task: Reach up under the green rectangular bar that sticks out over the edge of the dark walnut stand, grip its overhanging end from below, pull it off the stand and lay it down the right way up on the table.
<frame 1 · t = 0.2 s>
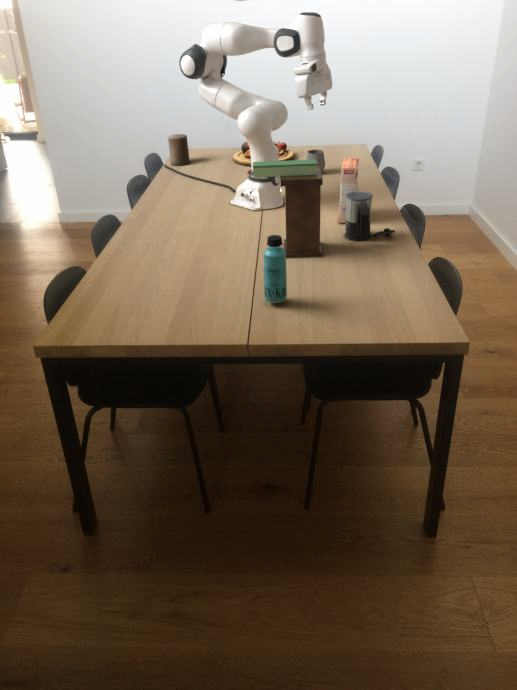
hand: (316, 107, 207), 39 cm above the table, tool pointing down, fingers open, 8 cm apart
green rectangular bar: (284, 174, 183), point 26 cm above the table, touching walnut stand
wooden plate: (263, 159, 300), on the table
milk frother: (369, 237, 204), on the table
beverage bottle: (276, 303, 165), on the table
pillar candle: (180, 163, 299), on the table
walnut stand: (300, 249, 196), on the table
cup: (315, 173, 274), on the table
cracker box: (347, 218, 221), on the table
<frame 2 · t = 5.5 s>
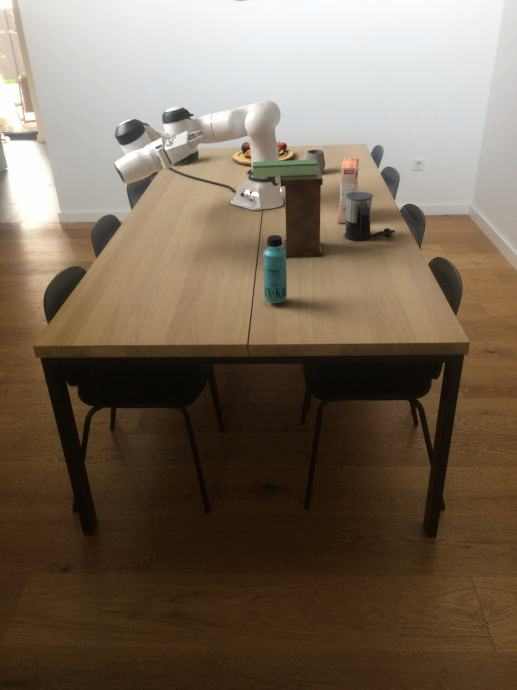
hand: (203, 134, 180), 38 cm above the table, tool pointing upward, fingers open, 8 cm apart
nothing on the table moved.
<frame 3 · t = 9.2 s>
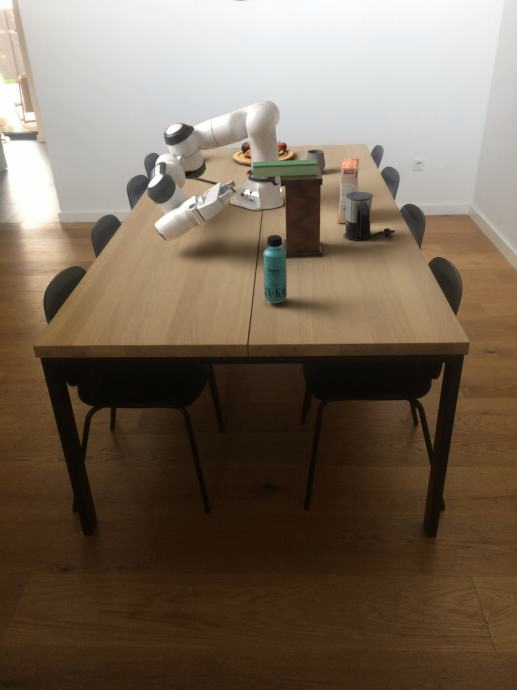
hand: (233, 187, 185), 23 cm above the table, tool pointing upward, fingers open, 8 cm apart
nothing on the table moved.
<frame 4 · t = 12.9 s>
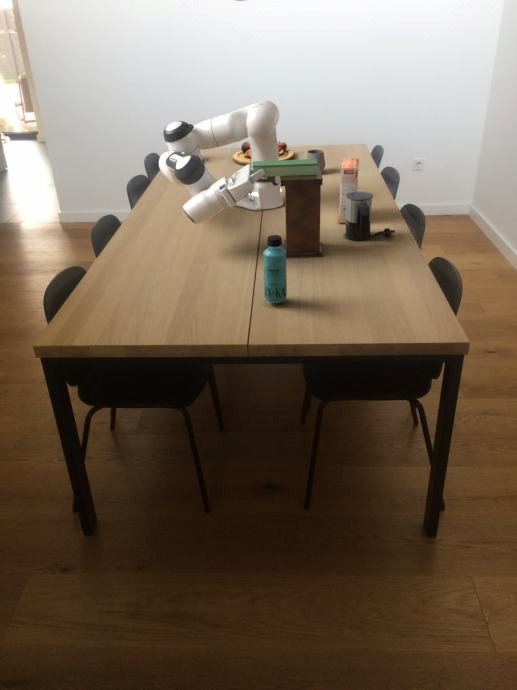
hand: (264, 167, 182), 28 cm above the table, tool pointing upward, fingers closed on green rectangular bar, 4 cm apart
green rectangular bar: (284, 173, 183), point 26 cm above the table, touching gripper
everything else where it was.
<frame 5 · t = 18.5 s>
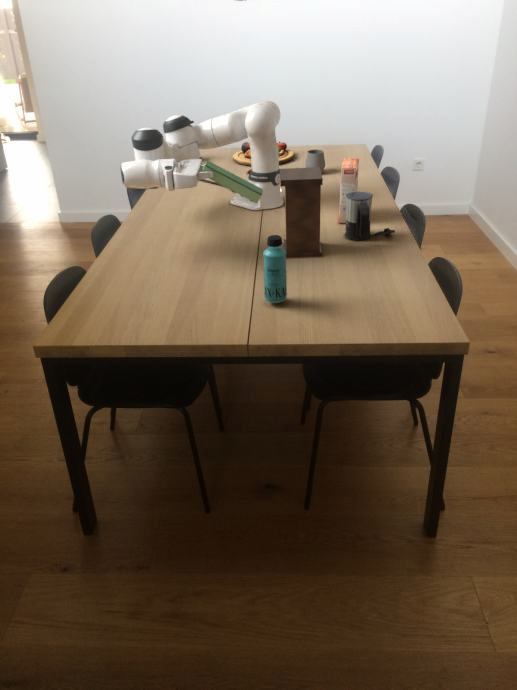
hand: (214, 171, 183), 28 cm above the table, tool horizontal, fingers closed on green rectangular bar, 4 cm apart
green rectangular bar: (229, 186, 185), point 23 cm above the table, tilted 30°, touching gripper
everything else where it was.
when the fingers open (10 cm above the table, at t = 22.5 s): green rectangular bar drops 5 cm, on the table.
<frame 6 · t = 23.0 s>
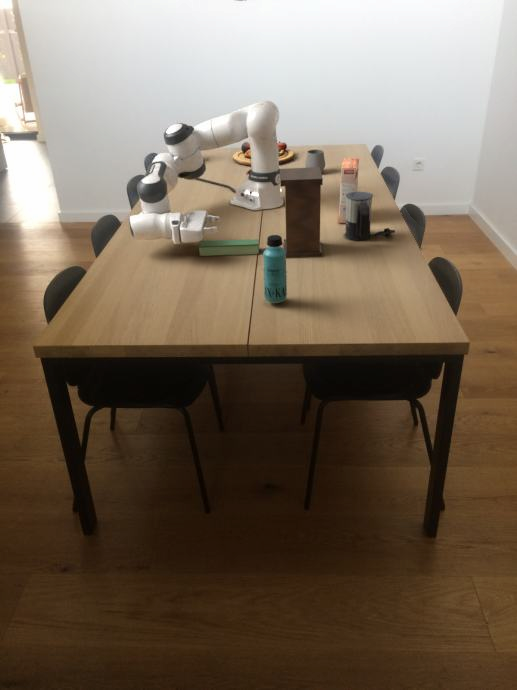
hand: (218, 224, 192), 10 cm above the table, tool horizontal, fingers open, 8 cm apart
green rectangular bar: (229, 252, 197), on the table
everything else where it was.
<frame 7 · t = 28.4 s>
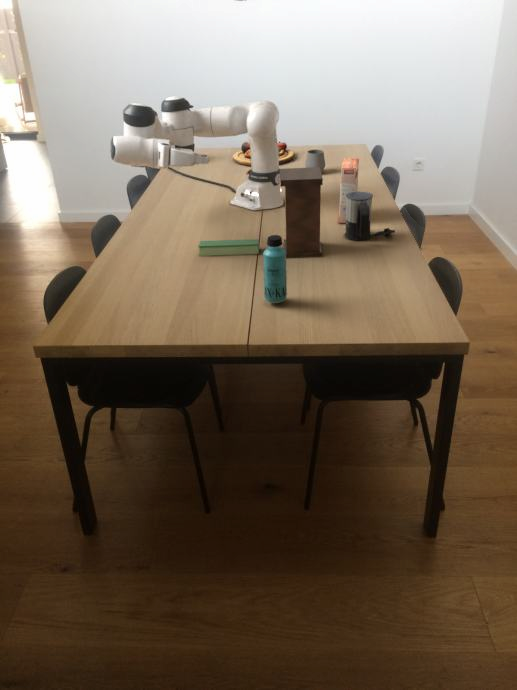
hand: (207, 159, 182), 31 cm above the table, tool horizontal, fingers open, 8 cm apart
nothing on the table moved.
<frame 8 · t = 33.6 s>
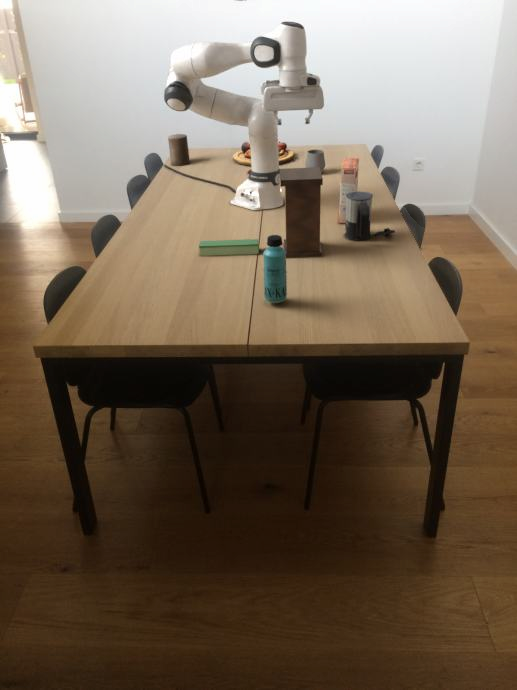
hand: (293, 124, 193), 37 cm above the table, tool pointing down, fingers open, 8 cm apart
nothing on the table moved.
at the end: green rectangular bar on the table; green rectangular bar tilted 0°; the gripper is holding nothing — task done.
